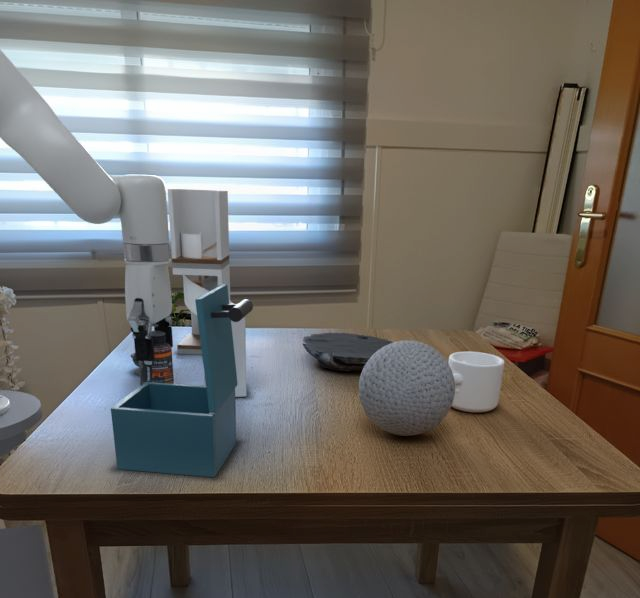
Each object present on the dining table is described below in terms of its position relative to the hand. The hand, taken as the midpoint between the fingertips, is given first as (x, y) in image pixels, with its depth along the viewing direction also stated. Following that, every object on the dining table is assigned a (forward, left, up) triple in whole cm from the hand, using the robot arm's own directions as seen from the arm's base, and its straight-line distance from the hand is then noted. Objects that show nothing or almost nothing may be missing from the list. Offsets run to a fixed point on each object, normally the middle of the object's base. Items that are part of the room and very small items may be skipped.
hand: (155, 353), depth 104 cm
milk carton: (+12, +3, -8) cm, 15 cm away
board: (+34, +27, -8) cm, 44 cm away
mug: (+57, +6, -8) cm, 58 cm away
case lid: (+19, -25, +9) cm, 32 cm away
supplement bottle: (0, 0, -8) cm, 8 cm away
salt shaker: (-7, +12, -8) cm, 16 cm away
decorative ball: (+45, -10, -8) cm, 47 cm away
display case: (-1, +33, -8) cm, 34 cm away
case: (+13, -25, -8) cm, 29 cm away
